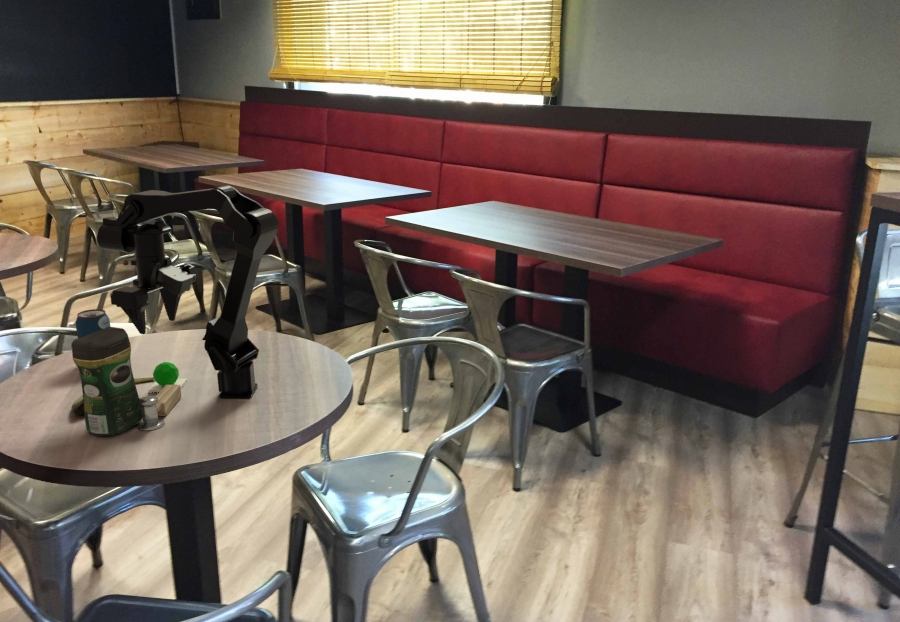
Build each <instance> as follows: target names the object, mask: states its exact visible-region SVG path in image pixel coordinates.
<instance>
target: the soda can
mask: <svg viewBox="0 0 900 622" xmlns="http://www.w3.org/2000/svg"><path fill="white" fill-rule="evenodd" d="M75 319H76V320H75V329H76V335H77V339H78V338H81V337H84V336H87V335H89V334H92V333H94V332H97V331H99V330H102V329H105V328H106V327H111V322H110V317H109V316H108V314H107V313H106V310H104V309H101V308H100V309H99V308H96V309H95V308H94V309H88V310H87V309H86V310H82V311H79V312H78V313H77V314H76V318H75Z"/></svg>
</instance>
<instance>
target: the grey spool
mask: <svg viewBox="0 0 900 622" xmlns="http://www.w3.org/2000/svg"><path fill="white" fill-rule="evenodd" d="M157 402H158V397H157V396H156V395H145V396H143V397H139V400H138V404H139V405H140V406H141V408H142V416H143V418H142V420H141V421H140V422H138V423H137V424H136V426H137V429H138V430H139V429H140V431H143V430H144V432H145V430H147V432H148V430H150V431H155V430H159V429H160V428H162V427H164V425H165V424H166V421H165V420H164V419H162V418H159V416H158V414H157V406H156V403H157Z"/></svg>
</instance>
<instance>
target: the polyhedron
mask: <svg viewBox="0 0 900 622" xmlns="http://www.w3.org/2000/svg"><path fill="white" fill-rule="evenodd" d="M179 371H180V370H179V369H178V367H177V366H176V365H175V364H174V363H172V362H168V361H163V362H160V363H158V365H156V366H155V368H154V370H153V372H152V377H153V378H154V380H153V381H155V382H157V383H158V384H159V385H162V386H165V385H172V384H174V383H175V382H176V381H177V379H179V377H180V373H179Z"/></svg>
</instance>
